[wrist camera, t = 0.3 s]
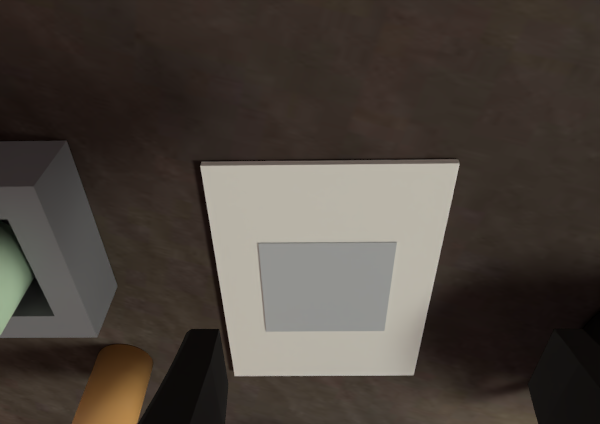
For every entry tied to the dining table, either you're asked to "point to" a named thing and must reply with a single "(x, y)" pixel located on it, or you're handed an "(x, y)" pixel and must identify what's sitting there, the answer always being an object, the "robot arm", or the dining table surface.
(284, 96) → the dining table surface
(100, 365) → the bottle
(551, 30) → the dining table surface
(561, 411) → the robot arm
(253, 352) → the paper
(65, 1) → the dining table surface
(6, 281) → the button
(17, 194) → the button housing
